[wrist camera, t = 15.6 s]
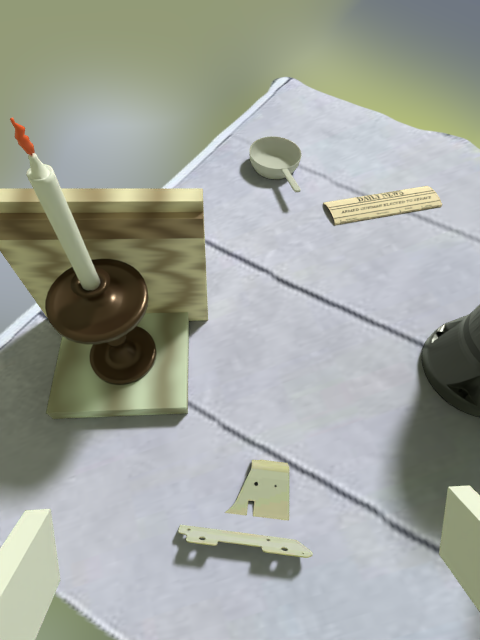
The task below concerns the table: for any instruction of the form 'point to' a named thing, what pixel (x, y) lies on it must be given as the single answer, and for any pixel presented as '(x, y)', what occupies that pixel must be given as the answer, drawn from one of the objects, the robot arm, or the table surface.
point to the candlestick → (92, 290)
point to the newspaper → (383, 204)
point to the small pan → (276, 158)
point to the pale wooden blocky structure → (136, 250)
